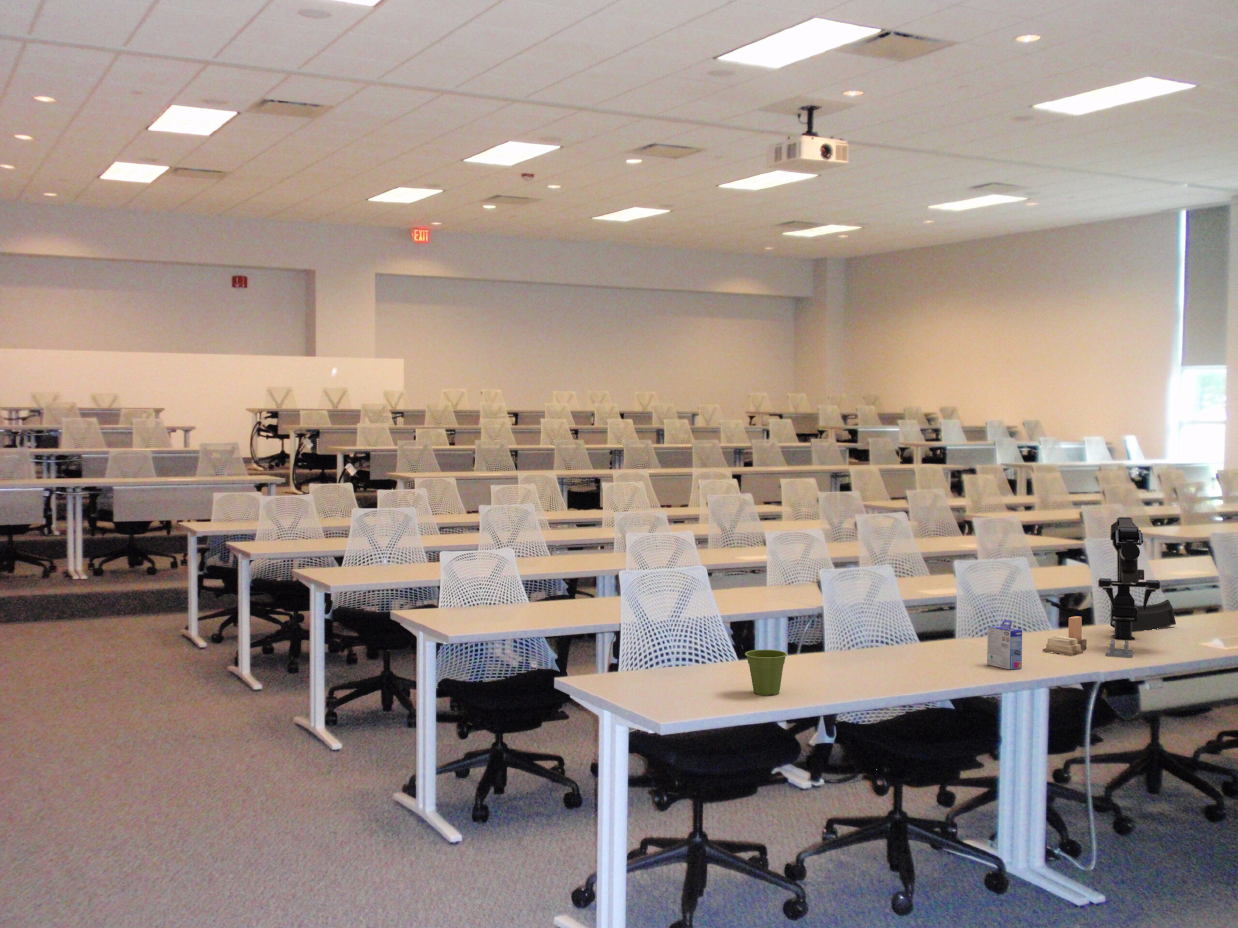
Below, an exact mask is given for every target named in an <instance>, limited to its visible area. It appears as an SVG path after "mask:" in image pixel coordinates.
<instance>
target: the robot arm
mask: <svg viewBox="0 0 1238 928" xmlns="http://www.w3.org/2000/svg"><path fill="white" fill-rule="evenodd" d="M1109 533H1110V534H1109V538H1110V541H1112V542H1111V543H1112V544H1111V545H1112V547H1113V549H1114V551H1116V565H1117V567H1116V569H1117V570H1116V576H1117V577H1116V580H1112V578H1107V577H1106V578H1102V577H1101V578H1099V579H1098V580H1097V583H1098V585H1097V587H1098V588H1100V589H1101V588H1102V589H1101V590H1102V591H1105V592H1106V595H1107V597H1108V598H1109V601H1110V613H1109V615H1110V617H1109V619H1110V622H1111V621H1115V628H1114V634H1111V637H1113V638H1114V640H1135V639H1136V638H1135V637H1134V636H1133V631H1132V622H1138V613H1139V609H1138V608H1137V606H1138V605H1137V604H1135V602H1136V601H1135V598H1134V597H1133V596H1132V594H1131V591H1130V590H1131V588H1145V589H1144V594H1143V603H1142V606H1143V611H1145V608H1146V605H1148V602H1149V599H1150V597H1151V595H1152V593H1155V592H1156V590H1160V589H1161V583H1160V582H1161V581H1159V580H1158V579H1146V580H1145V570H1144V569H1139V566H1138V565H1139V563H1138V559H1139V557H1140V554H1141V549H1140V547H1139V546H1142V544H1144V537H1143V533H1142V530H1141V529H1139V526H1137V525H1136V524H1134V522H1133V518H1132V517H1126V516H1124V517H1123V516H1118V517H1117V518H1116V521H1115V522H1113V523H1112V524H1111V525H1110V531H1109ZM1113 587H1117V590H1116V591H1117V593H1116V594H1115V596H1114V589H1113ZM1113 616H1115V617H1122V618H1113ZM1133 617H1134V618H1133Z"/></svg>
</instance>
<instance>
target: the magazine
mask: <svg viewBox="0 0 1238 928" xmlns="http://www.w3.org/2000/svg"><path fill="white" fill-rule="evenodd" d="M1137 608H1138V609H1139V613H1138V622H1132V632H1136V631H1137V632H1141V631H1142V632H1145V631H1144V630H1147V631H1153V630H1152V629H1156V630H1158V629H1157V628H1160V629H1163V627H1164V628H1167V627H1170V626H1174V625H1177V621H1176V618H1175V613H1174V608H1173V606H1172V604H1171V601H1170V600H1169V599H1165V600H1163V601H1161V602H1158V603H1154V604H1147V605H1146V608H1145V611H1143V605H1137ZM1113 618H1122V617H1115V616H1113ZM1133 618H1134V617H1133ZM1109 625H1110V627H1112V628H1113V629H1115V621H1111V620H1110V624H1109Z"/></svg>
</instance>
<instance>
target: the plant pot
mask: <svg viewBox="0 0 1238 928" xmlns="http://www.w3.org/2000/svg"><path fill="white" fill-rule="evenodd" d="M744 655H745V656H746V659H747V663H748V667H749V672H750V678H751V684H752V691H753V693H755V694H756V695H758V696H765V697H767V696H770V695H774V696H775V695H778V694H779V693H781V692H780V690H781V685H782V683H781V682H782V675H783V669H784V664H785V662H786V661H785V660H786V657H788V653H787V652H786V651H782V650H777V649H753V650H748V651H746V652H745V653H744Z"/></svg>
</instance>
